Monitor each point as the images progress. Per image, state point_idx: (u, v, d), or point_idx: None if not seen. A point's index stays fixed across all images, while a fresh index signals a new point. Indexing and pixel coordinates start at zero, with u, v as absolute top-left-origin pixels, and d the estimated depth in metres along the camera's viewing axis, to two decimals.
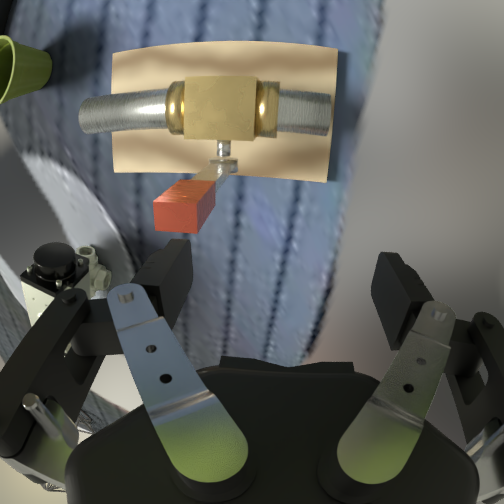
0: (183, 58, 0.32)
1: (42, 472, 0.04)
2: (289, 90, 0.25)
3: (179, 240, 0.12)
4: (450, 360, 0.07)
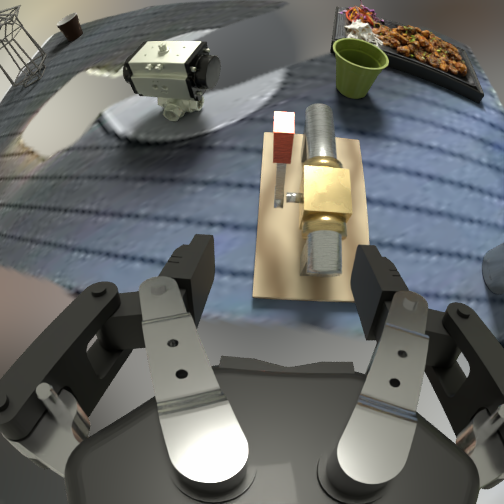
0: (353, 187, 0.49)
1: (45, 460, 0.04)
2: (341, 242, 0.37)
3: (203, 235, 0.12)
4: None
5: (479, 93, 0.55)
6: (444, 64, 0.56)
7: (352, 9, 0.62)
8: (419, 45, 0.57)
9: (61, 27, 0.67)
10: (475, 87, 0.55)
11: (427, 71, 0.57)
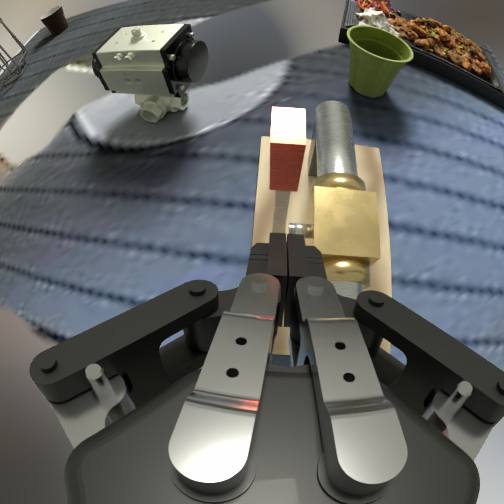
0: None
1: (66, 430, 0.05)
2: None
3: (278, 234, 0.13)
4: None
5: None
6: (467, 62, 0.45)
7: None
8: (439, 39, 0.47)
9: (44, 21, 0.57)
10: (500, 91, 0.44)
11: (448, 68, 0.47)
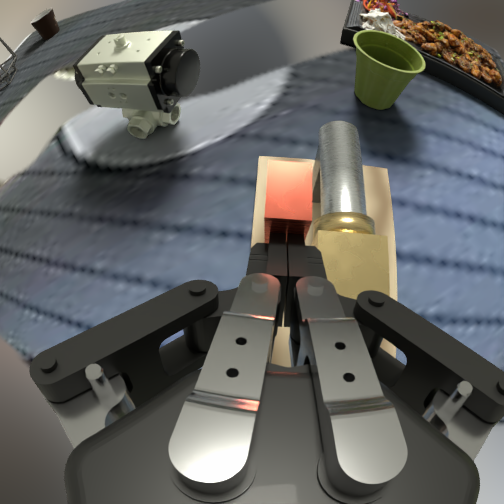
0: None
1: (66, 430, 0.05)
2: None
3: (278, 234, 0.13)
4: None
5: None
6: (477, 69, 0.42)
7: None
8: (448, 44, 0.43)
9: (35, 24, 0.54)
10: None
11: (456, 75, 0.44)
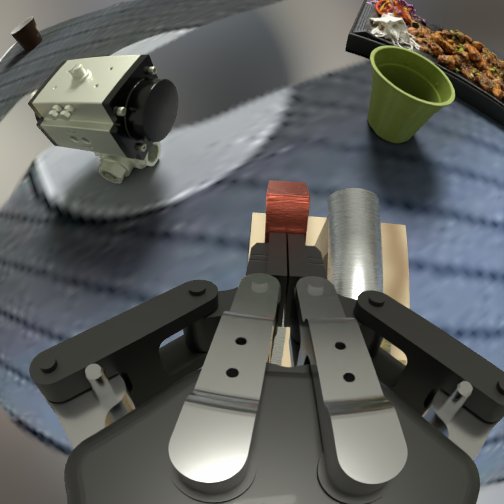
0: None
1: (66, 430, 0.05)
2: None
3: (278, 234, 0.13)
4: None
5: None
6: (498, 89, 0.36)
7: (385, 0, 0.43)
8: (468, 58, 0.37)
9: (15, 36, 0.48)
10: None
11: (475, 94, 0.38)
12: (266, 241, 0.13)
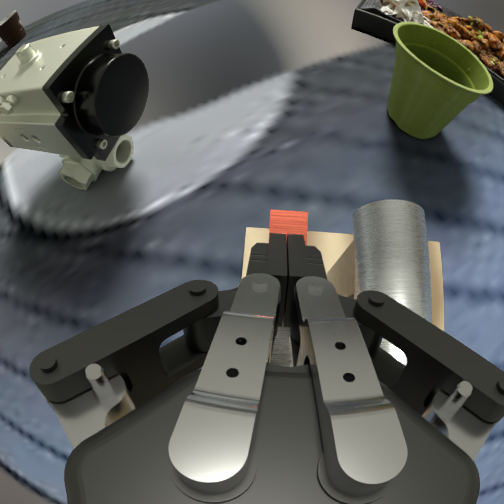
0: None
1: (66, 430, 0.05)
2: None
3: (278, 234, 0.13)
4: None
5: None
6: None
7: None
8: (488, 45, 0.29)
9: None
10: None
11: (496, 83, 0.30)
12: None
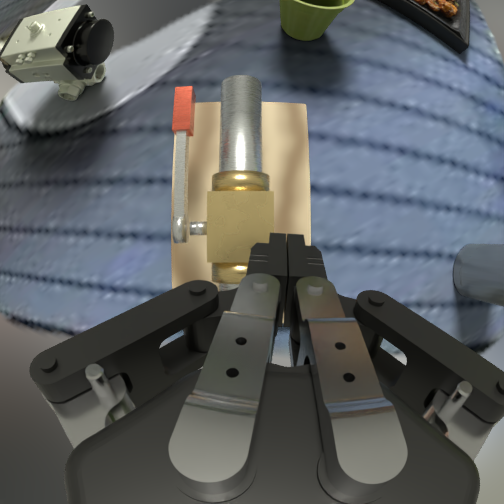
0: (293, 175, 0.39)
1: (66, 430, 0.05)
2: None
3: (278, 234, 0.13)
4: None
5: (462, 42, 0.37)
6: None
7: None
8: None
9: None
10: (458, 33, 0.36)
11: None
12: (174, 104, 0.28)
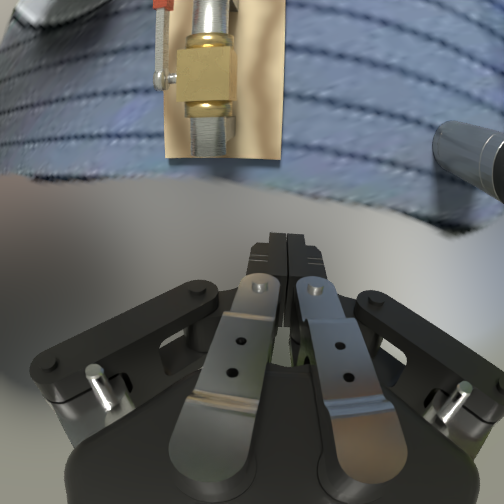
0: (269, 35, 0.35)
1: (66, 430, 0.05)
2: (223, 124, 0.33)
3: (278, 234, 0.13)
4: None
5: None
6: None
7: None
8: None
9: None
10: None
11: None
12: None
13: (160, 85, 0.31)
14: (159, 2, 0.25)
